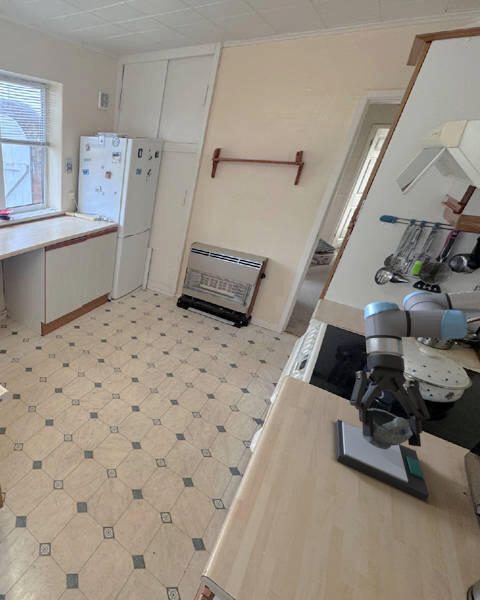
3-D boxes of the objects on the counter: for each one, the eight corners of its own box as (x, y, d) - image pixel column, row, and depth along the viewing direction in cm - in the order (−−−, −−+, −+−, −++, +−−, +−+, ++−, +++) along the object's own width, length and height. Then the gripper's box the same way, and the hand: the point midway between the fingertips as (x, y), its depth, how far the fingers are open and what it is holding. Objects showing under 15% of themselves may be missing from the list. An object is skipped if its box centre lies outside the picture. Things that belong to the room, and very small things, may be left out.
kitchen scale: (411, 455, 91) (416, 449, 89) (424, 500, 79) (430, 494, 77) (335, 423, 99) (338, 417, 98) (336, 460, 87) (340, 453, 86)
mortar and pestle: (352, 420, 94) (371, 389, 88) (392, 435, 90) (416, 403, 84) (358, 447, 85) (380, 415, 80) (403, 465, 81) (430, 432, 76)
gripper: (419, 366, 91) (428, 449, 85) (331, 351, 95) (334, 430, 88) (444, 362, 84) (456, 453, 77) (348, 346, 88) (352, 431, 81)
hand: (391, 440), depth 83 cm, fingers closed on mortar and pestle, 10 cm apart
